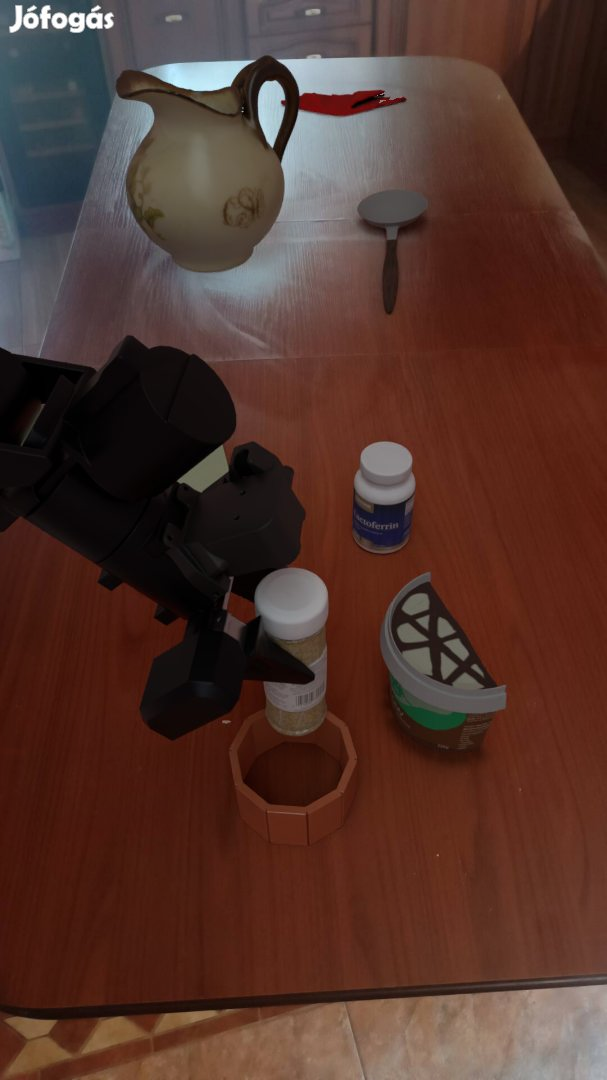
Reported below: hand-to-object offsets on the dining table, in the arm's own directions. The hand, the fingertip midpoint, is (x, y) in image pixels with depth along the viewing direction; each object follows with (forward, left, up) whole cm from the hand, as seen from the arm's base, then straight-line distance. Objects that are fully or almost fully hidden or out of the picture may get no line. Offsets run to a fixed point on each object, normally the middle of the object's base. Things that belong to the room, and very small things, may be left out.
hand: (314, 651), depth 53 cm
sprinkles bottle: (-1, 0, -8) cm, 8 cm away
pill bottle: (+12, +22, -13) cm, 28 cm away
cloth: (+40, +143, -13) cm, 149 cm away
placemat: (-9, +35, -13) cm, 38 cm away
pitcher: (+5, +86, -13) cm, 87 cm away
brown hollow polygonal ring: (-2, -2, -13) cm, 14 cm away
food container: (+9, +2, -13) cm, 16 cm away
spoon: (+30, +77, -13) cm, 83 cm away
